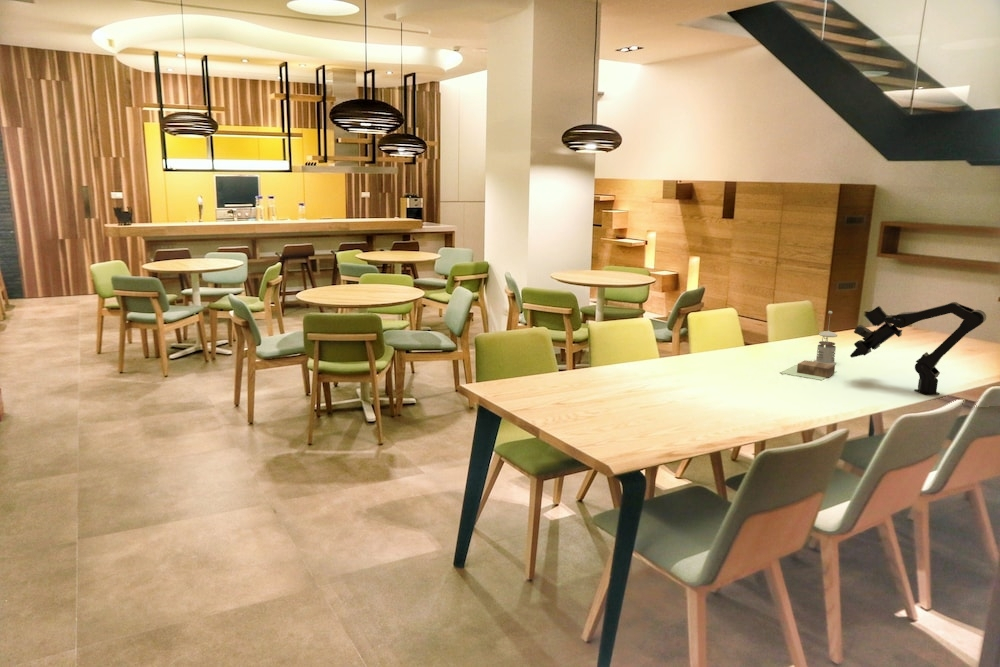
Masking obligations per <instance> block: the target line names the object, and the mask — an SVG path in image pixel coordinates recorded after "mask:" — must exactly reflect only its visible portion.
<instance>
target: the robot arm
mask: <svg viewBox="0 0 1000 667" xmlns="http://www.w3.org/2000/svg"><path fill="white" fill-rule="evenodd" d="M948 314H953V315H954V316H956V317H958V318H960V319H961V320H962V321H961V323H960V325H959V326H958V327H957V328H956V329H955V330H954V331H953V332H952V333H951V334H950V335H949V336H947V338H945V340H944V341H943V342H942V343H941V344H939V345H938V346H937V347H936V348H935V349H934V350H933V351H932V352H931V353H928V351H926V352H924V353H923V354H922V355H921V356H920V358H918V359H917V360H916V361H915V364H914V370H915V372H916V373H917V374H918V375H919V377H918V378H919V379H918V384H917V389H914V392H916V393H917V392H918V393H919V394H923V395H925V396H927V395H928V396H930V395H940V392H938V391H937V390H938V384H939V383H938V382H939V379H938V377H939V375H940V374H941V371H939V370H938V368H936V366H937V365H938V363H939V362H940V360H941V359H942V357H944V356H945V355H946V354H947V353H948V352H949V351H950V350H951V349H952V348H954V346H956V344H957V343H959V342H960V341H961V340H962V339H963V338H964V337H965V336H967V334H968V333H971V332H972V331H973V330H975V329H976V328H978V327H979V326H981V325H983V323H985V321H986V320H987V313H986V312H984V311H983V310H982V309H973V308H971V307H969V306H965V305H962V304H960V303H959V302H957V301H952V302H949V303H946V304H942V305H938V306H934V307H931V308H927V309H923V310H917V311H904V312H900V313H898V314H896V315H895V314H890V315H888V314H887V313H886V312H885V310H884V309H883V308H882V307H881V306H880V305H879V306H876V307H875V308H873V309H872V310H870V311H867V313H866V314H865V315H864V317H865V318H866V319H867V320H868V321H869V323H870V324H872V326H875V327H876V326H877V329H874V330H870V329H869V328H868V327H866V326H864V325H862V324H858V325H857V326H856V327H855V328H854V331H853V334H856V335H857V336H858V335H859V336H860V337H862V339H859V340H857V341H856V342H855V343H854V344H853V345H854V346H855V347H856V348H855V349H854V350H853V352H852V353H851V354H850V355H849V357H850V358H855V357H860V356H864V357H865V356H866V355H867V354H869V353H871V352H872V350H877V349H878V348H879V347H881V345H882V344H883V343H885V342H886V341H887V340H889V339H890V338H892V337H893V336H897V337H898V338H900V337H902V333H903V329H904V328H906V327H908V326H911V325H914V324H915V323H918V322H919V321H923V320H929V319H932V318H935V317H940V316H944V315H948ZM879 326H880V327H879Z"/></svg>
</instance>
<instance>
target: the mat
mask: <svg viewBox="0 0 1000 667" xmlns="http://www.w3.org/2000/svg"><path fill="white" fill-rule="evenodd" d="M797 366H798V364H794V365H792V366H790V367H788V368H786V369H784V370H782V371H780V372H779V374H783V375H787V376H794V377H800V378H806V379H811V380H817V381H823V380H825V379H827V378H826V377H821V376H815V375H809V374H803V373H797ZM835 373H837V371H836V370H834V374H835Z"/></svg>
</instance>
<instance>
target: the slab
mask: <svg viewBox="0 0 1000 667" xmlns="http://www.w3.org/2000/svg"><path fill="white" fill-rule="evenodd" d="M797 365H798V366H797V373H803V374H809V375H815V376H821V377H826V378H825V379H828V378H830V377H831V376H833V375H835V373H834V371H836V370H835V368H836V365H831V364H825V363H819V362H814V361H812V360H802V361H801V362H798V363H797Z"/></svg>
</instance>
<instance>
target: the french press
mask: <svg viewBox="0 0 1000 667" xmlns="http://www.w3.org/2000/svg"><path fill="white" fill-rule="evenodd" d="M827 314H829V315H832V314H833V311H832V310H829V311H828V313H827ZM828 318H829V319H828V323H830V320H831V316H829V317H828ZM827 329H828V330H826V331H825V330H823V331H821V332H819V333H818V335H819V336H820V337H822V338H821V341H819V342H818V344H817V351H816V359H815V360H813V362H819V363H825V364H831V365H835V366H836V365H837V363H836V362H835V361H836V360H835V357H836V348H837V347H836V346H835V345H836V343H835V342H833V341H828V340H829V339H828V338H837V337H838V334H837V333H836V332H833V331H830V325H828V327H827Z"/></svg>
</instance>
